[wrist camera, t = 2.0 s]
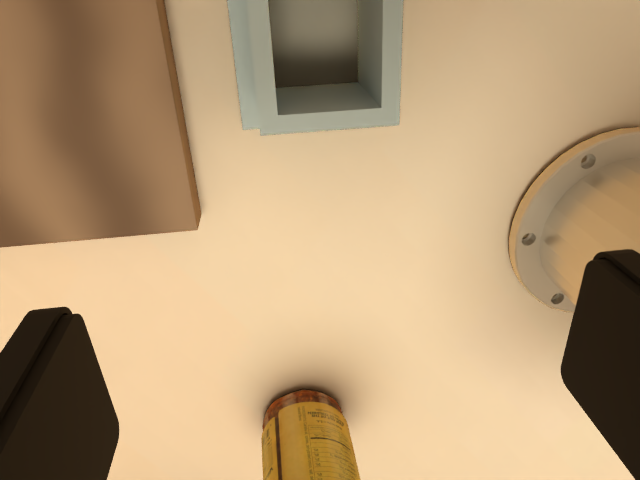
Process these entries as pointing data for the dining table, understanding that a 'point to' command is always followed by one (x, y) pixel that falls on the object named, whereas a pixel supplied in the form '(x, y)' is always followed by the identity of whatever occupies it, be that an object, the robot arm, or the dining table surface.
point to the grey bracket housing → (319, 100)
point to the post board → (91, 123)
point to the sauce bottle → (307, 439)
